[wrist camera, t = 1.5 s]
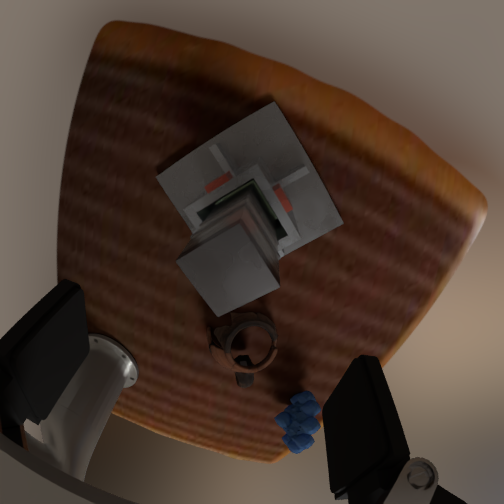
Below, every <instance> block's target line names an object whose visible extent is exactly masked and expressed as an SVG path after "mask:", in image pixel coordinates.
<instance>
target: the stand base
mask: <svg viewBox="0 0 504 504" xmlns="http://www.w3.org/2000/svg"><path fill="white" fill-rule="evenodd" d="M156 178H157V180H158V181H159V183H160V184H161V186H162V187H163V189H164V190H165V192H166V194H167V195H168V197H169V198H170V200H171V201H172V203H173V204H174V206H175V207H176V209H177V210H178V212H179V213H180V215H181V216H182V218H183V219H184V220H185V222H186V223H187V225H188V226H189V228H190V229H191V231H192V233H195V232H196V231H197V230H198V229H199V227H200V226H199V224H200V223H201V222H203V221H204V220H205V219H206V218H207V216H208V215H209V214H210V212H211V211H212V209H213V208H214V207H215V205H216V204H215V202H216V201H217V200H218V199H219V198H221V197H222V196H224V195H226V194H227V193H229V192H231V191H232V190H234V189H236V188H237V187H239V186H241V185H242V184H244V183H246V182H247V181H249V180H251V179H252V178H254V180H255V181H256V183H257V184H258V186H259V188H260V189H261V191H262V193H263V194H264V196H265V198H266V199H267V201H268V202H269V204H270V206H271V207H272V209H273V211H274V212H275V214H276V216H277V219H276V220H275V222H276V235H277V240H278V242H279V245H278V246H277V248H278V253H279V255H280V258H281V257H283V256H285V255H286V254H288V253H289V252H291V251H293V250H295V249H297V248H299V247H301V246H303V245H304V244H306V243H308V242H310V241H312V240H314V239H316V238H318V237H319V236H321V235H323V234H325V233H327V232H329V231H330V230H332V229H334V228H336V227H338V226H340V225H342V224H343V221H342V219H341V217H340V215H339V213H338V211H337V209H336V207H335V206H334V204H333V202H332V200H331V198H330V196H329V194H328V192H327V190H326V188H325V186H324V185H323V183H322V181H321V179H320V177H319V175H318V174H317V172H316V170H315V168H314V166H313V165H312V163H311V161H310V159H309V157H308V156H307V154H306V152H305V150H304V149H303V147H302V145H301V144H300V142H299V140H298V139H297V137H296V135H295V134H294V132H293V130H292V129H291V127H290V125H289V124H288V122H287V120H286V119H285V117H284V116H283V114H282V112H281V111H280V109H279V108H278V106H277V105H276V103H275V101H274V102H272V103H271V104H269V105H267V106H265V107H263V108H262V109H260V110H258V111H256V112H255V113H253V114H251V115H249V116H248V117H246V118H244V119H243V120H241V121H239V122H238V123H236V124H234V125H233V126H231V127H229V128H228V129H226V130H224V131H223V132H221V133H220V134H218V135H217V136H215V137H213V138H212V139H210V140H209V141H207V142H206V143H204V144H203V145H201V146H200V147H198V148H197V149H195V150H194V151H192V152H191V153H189V154H188V155H186V156H185V157H183V158H182V159H180V160H179V161H178V162H176V163H175V164H173V165H172V166H171V167H169V168H168V169H166V170H165V171H164V172H162V173H161V174H159V175H158V176H157V177H156Z"/></svg>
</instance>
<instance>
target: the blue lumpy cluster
mask: <svg viewBox="0 0 504 504" xmlns="http://www.w3.org/2000/svg"><path fill="white" fill-rule="evenodd" d="M290 401H291V403H292V404H291V405H289V406H288V407H287V408H286V409H285V410H284V412H281V413H280V414H278V415H277V416H276V417H275V418H274V419H275V421H276V422H277V424H278V425H279V426H280V427H282V428H283V429H284V431H285V432H286V433H287V434H285V435H284V436H283V437H282V440H283V441H284V443H285V444H286V445H287V446H288V448H289V450H290V451H291V452H293V453H296V454H298V453H300V452H302V451H303V450H304V449H308V448H309V447H310V446H312V444H313V443H314V442H315V441H314V439H313V437H312V436H311V435H312V434H314V433H316V432H317V431H318V430H319V429H320V427H321V426H320V424H319V422H318V420H317V419H316V418H314V416H316V415H317V414H318V413H319V412H320V411H321V408H320V406H319V404H318V403H317V402H316V399H315V397H314V395H313V394H312V393H311V392H310V391H304V392H302V393H298V394H295V395H294V396H293V397H292V398H291V399H290Z"/></svg>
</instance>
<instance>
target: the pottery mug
mask: <svg viewBox="0 0 504 504" xmlns="http://www.w3.org/2000/svg"><path fill="white" fill-rule="evenodd" d="M230 314H231V321H232V326H227V325H226V326H222V327H217V328H216V329H215V331H214V335H215V336H216V337H217V339H218V341H219V342H220V344H221V346H222V348H221V347H219V346H217V345H216V344H215V343H214V342H213V340H212V337H211V327H208V328H207V341H208V344H209V349H210V352H211V354H212V356H213V357H214V358H215V360H216V361H217V362H218V363H220V364H221V365H222V366H223V367H225V368H227V369H230V370H231V371H234V372H235V375H236V381H237V384H238V386H240V387H241V388H246V387H249V386H251V385H252V384H253V380H254V372H258V371H260V370H262V369H264V368H265V367H267V366H268V365H269V364H270V363H271V362H272V361H273V359H274V358H275V356H276V354H277V351H278V348H277V347H276V342H277V337H278V335H277V331H276V328H275V324H274V323H273V322H272V321H271V320H270V319H269V318H268V317H266V316H265V315H263V314H261V313H258V312H257V313H256V314H255V313H254V312H247V313H232V312H231V313H230ZM250 326H259V327H262V328H264V329H265V330H267V331H268V333H269V334H270V337H271V339H272V345H271V348H270V351H269V353H268V355H267V356H266V357H265V359H264V360H262V361H261V362H260V363H258V364H256V365H254V364H253V363H252V362H251V359H250V358H249V356H248V355H239V356H238V357H236V358H235V359H233V357H232V354H231V343H232V341H233V339H234V337H235V336H236V334H237V333H238V332H239V331H240V330H242V329H244V328H247V327H250Z"/></svg>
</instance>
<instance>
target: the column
mask: <svg viewBox="0 0 504 504" xmlns="http://www.w3.org/2000/svg"><path fill="white" fill-rule="evenodd" d="M215 204H216V205H215V207H214V208H213V209H212V211H211V212H210V214H209V215H208V216H207V218H206V219H205V220H204V221H203V222H201V223H200V224H199V226H200V227H199V229H198V230H197V231H196V232H195V233H193V234H192V235H191V236H190V237H191V240H190V241H189V243H188V244H187V245H186V247H185V248H184V250H183V251H182V253H181V254H180V255H179V257H178V258H177V260H176V262H177V264H178V265H179V267H180V268H181V269H182V271H183V272H184V273H185V275H186V276H187V277H188V279H189V280H190V281H191V283H192V284H193V286H194V287H195V288H196V290H197V291H198V292H199V293H200V295H201V296H202V297H203V299H204V300H205V301H206V303H207V304H208V305H209V307H210V308H211V309H212V310H213V312H214V313H215V314H216V316H217V317H219V316H221V315H223V314H226V313H228V312H230V311H232V310H234V309H236V308H238V307H240V306H242V305H244V304H246V303H249V302H251V301H253V300H255V299H257V298H259V297H261V296H263V295H265V294H267V293H269V292H271V291H273V290H275V289H277V288H279V287H280V276H279V262H278V260H279V259H280V255H279V253H278V248H277V246H278V245H279V242H278V240H277V235H276V222H275V220H276V219H277V216H276V214H275V212H274V211H273V209H272V207H271V206H270V204H269V202H268V201H267V199H266V198H265V196H264V194H263V193H262V191H261V189H260V188H259V186H258V184H257V183H256V181H255V180H254V178H252V179H251V180H249V181H247V182H246V183H244V184H242V185H241V186H239V187H237V188H236V189H234V190H232V191H231V192H229V193H227V194H226V195H224V196H222V197H221V198H219V199H218V200H217V201H216V202H215Z"/></svg>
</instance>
